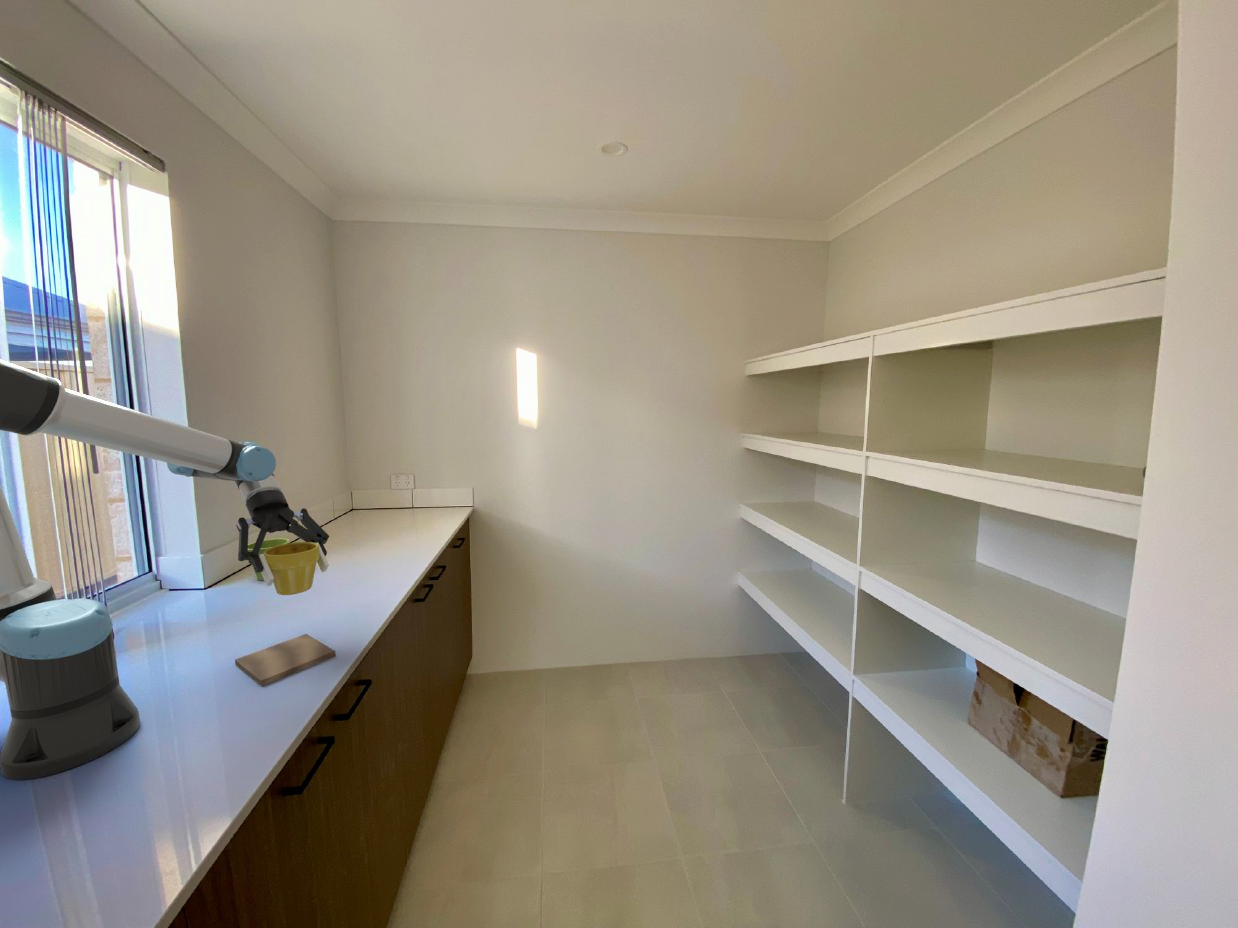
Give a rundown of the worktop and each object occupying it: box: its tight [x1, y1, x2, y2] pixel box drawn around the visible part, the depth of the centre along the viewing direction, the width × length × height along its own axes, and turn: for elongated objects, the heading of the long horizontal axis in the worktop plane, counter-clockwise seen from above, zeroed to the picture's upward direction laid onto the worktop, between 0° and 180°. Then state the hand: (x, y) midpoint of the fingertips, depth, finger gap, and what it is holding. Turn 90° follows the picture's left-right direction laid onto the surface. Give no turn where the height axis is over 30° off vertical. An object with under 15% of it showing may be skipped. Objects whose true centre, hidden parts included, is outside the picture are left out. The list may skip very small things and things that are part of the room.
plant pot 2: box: [263, 541, 320, 596], centre depth 108 cm, size 10×10×10 cm
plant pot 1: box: [248, 537, 290, 582], centre depth 155 cm, size 12×12×11 cm
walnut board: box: [234, 633, 336, 687], centre depth 105 cm, size 14×14×1 cm
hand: (299, 575), depth 106 cm, fingers closed on plant pot 2, 10 cm apart
